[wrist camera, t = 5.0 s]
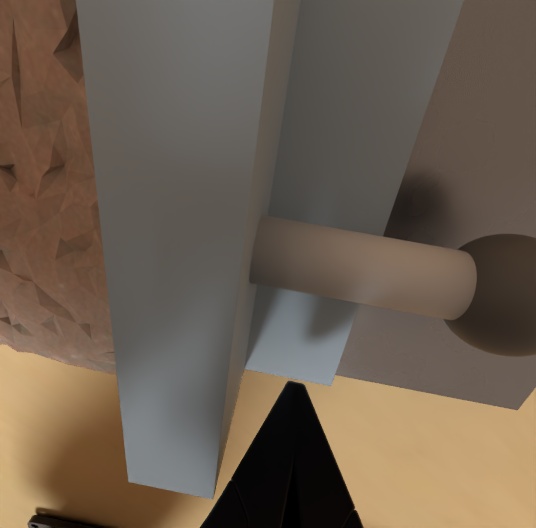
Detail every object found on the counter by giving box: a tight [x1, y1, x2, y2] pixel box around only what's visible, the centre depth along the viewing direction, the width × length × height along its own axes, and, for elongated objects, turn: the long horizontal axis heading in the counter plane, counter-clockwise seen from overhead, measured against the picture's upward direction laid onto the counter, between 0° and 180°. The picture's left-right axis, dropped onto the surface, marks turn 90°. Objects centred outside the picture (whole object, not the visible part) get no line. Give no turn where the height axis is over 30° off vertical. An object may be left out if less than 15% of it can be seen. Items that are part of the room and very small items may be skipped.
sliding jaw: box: [76, 0, 536, 499], centre depth 7 cm, size 11×8×5 cm
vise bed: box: [335, 0, 536, 410], centre depth 9 cm, size 12×10×1 cm
